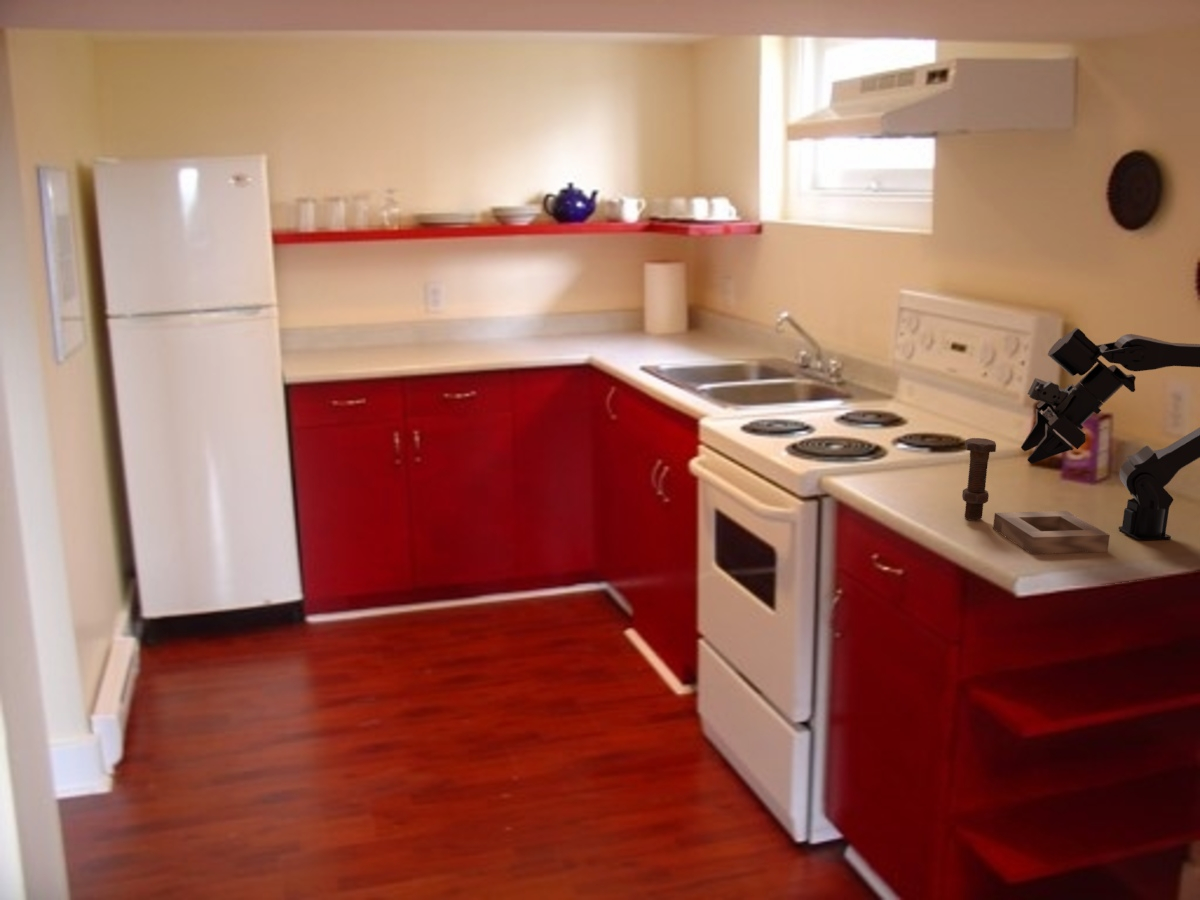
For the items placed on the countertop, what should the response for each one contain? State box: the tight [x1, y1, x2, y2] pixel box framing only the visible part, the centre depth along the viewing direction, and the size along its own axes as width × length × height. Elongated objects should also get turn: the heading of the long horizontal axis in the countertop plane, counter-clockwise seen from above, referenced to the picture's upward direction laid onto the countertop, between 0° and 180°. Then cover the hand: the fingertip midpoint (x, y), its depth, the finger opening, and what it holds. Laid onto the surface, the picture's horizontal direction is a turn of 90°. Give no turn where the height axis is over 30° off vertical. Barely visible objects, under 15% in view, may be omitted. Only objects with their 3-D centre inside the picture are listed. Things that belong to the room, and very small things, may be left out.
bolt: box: [961, 437, 997, 521], centre depth 214 cm, size 6×5×15 cm
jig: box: [992, 510, 1111, 555], centre depth 204 cm, size 14×14×3 cm
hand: (1025, 455), depth 209 cm, fingers open, 9 cm apart
